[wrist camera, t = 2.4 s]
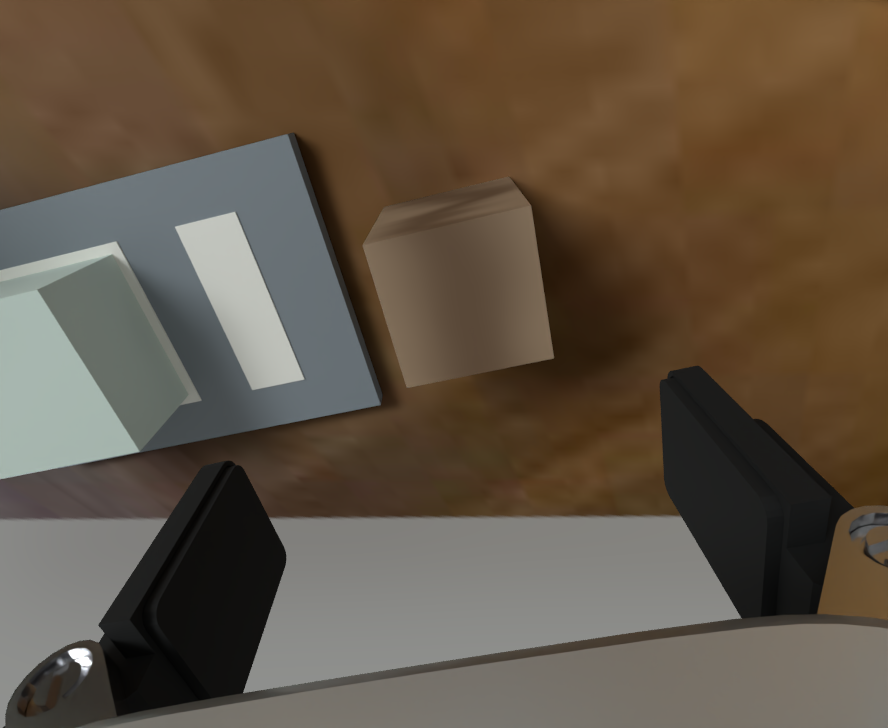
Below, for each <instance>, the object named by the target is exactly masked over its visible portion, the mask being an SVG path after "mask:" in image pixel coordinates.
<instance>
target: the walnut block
mask: <svg viewBox="0 0 888 728" xmlns="http://www.w3.org/2000/svg"><path fill="white" fill-rule="evenodd" d="M363 248H364V252H365V255H366V258H367V261H368V264H369V268H370V271H371V274H372V277H373V281H374V284H375V287H376V290H377V293H378V297H379V300H380V303H381V306H382V310H383V313H384V316H385V319H386V322H387V326H388V329H389V332H390V335H391V338H392V342H393V345H394V348H395V351H396V355H397V358H398V361H399V364H400V367H401V371H402V374H403V377H404V380H405V383H406V387H407V388H409V387H414V386H419V385H424V384H429V383H434V382H439V381H444V380H449V379H454V378H459V377H464V376H469V375H474V374H479V373H484V372H489V371H494V370H499V369H504V368H509V367H514V366H519V365H524V364H529V363H534V362H539V361H544V360H549V359H554V354H553V348H552V341H551V334H550V328H549V321H548V314H547V308H546V301H545V295H544V288H543V281H542V275H541V268H540V261H539V255H538V248H537V241H536V235H535V228H534V221H533V215H532V208H531V205H530V203H529V202H528V201H527V199H526V198H525V197H524V195H523V194H522V193H521V192H520V190H519V189H518V188H517V186H516V185H515V184H514V182H513V181H512V180H511V178H510V177H505V178H501V179H497V180H493V181H489V182H485V183H481V184H476V185H472V186H468V187H464V188H460V189H456V190H452V191H448V192H444V193H439V194H435V195H431V196H427V197H423V198H419V199H415V200H411V201H407V202H402V203H398V204H394V205H390V206H386V207H384V208H383V210H382V212H381V213H380V215H379V217H378V219H377V220H376V222H375V224H374V226H373V228H372V229H371V231H370V233H369V235H368V236H367V238H366V240H365V242H364V244H363Z"/></svg>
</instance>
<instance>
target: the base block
mask: <svg viewBox="0 0 888 728" xmlns="http://www.w3.org/2000/svg"><path fill="white" fill-rule="evenodd" d="M188 395H189V394H188V393H187V391H186V389H185V387H184V385H183V383H182V382H181V380H180V378H179V376H178V374H177V372H176V371H175V369H174V367H173V365H172V363H171V361H170V359H169V358H168V356H167V354H166V352H165V350H164V348H163V347H162V345H161V343H160V341H159V339H158V337H157V336H156V334H155V332H154V330H153V328H152V326H151V325H150V323H149V321H148V319H147V317H146V315H145V314H144V312H143V310H142V308H141V306H140V304H139V303H138V301H137V299H136V297H135V295H134V293H133V291H132V290H131V288H130V286H129V284H128V282H127V280H126V279H125V277H124V275H123V273H122V271H121V269H120V268H119V266H118V264H117V262H116V260H115V258H114V257H113V255H112V254H111V255H107V256H103V257H99V258H95V259H90V260H86V261H82V262H78V263H74V264H70V265H66V266H62V267H58V268H54V269H50V270H46V271H42V272H38V273H34V274H30V275H26V276H22V277H17V278H13V279H9V280H5V281H1V282H0V479H4V478H9V477H14V476H19V475H24V474H29V473H34V472H39V471H44V470H49V469H55V468H60V467H65V466H70V465H75V464H80V463H85V462H90V461H95V460H100V459H105V458H110V457H115V456H120V455H126V454H131V453H136V452H140V451H141V450H142V449H143V447H144V446H145V445H146V444H147V443H148V442H149V440H150V439H151V438H152V437H153V436H154V435H155V434H156V432H157V431H158V430H159V429H160V428H161V427H162V425H163V424H164V423H165V422H166V421H167V420H168V418H169V417H170V416H171V415H172V414H173V413H174V412H175V410H176V409H177V408H178V407H179V406H180V405H181V403H182V402H183V401H184V400H185V399H186V398H187V396H188Z"/></svg>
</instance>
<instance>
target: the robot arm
mask: <svg viewBox="0 0 888 728" xmlns="http://www.w3.org/2000/svg"><path fill="white" fill-rule="evenodd" d="M660 401H661V422H662V443H663V464H664V481H665V485H666V489H667V491H668V494H669V496H670V498H671V499H672V501H673V503H674V505H675V506H676V508H677V510H678V511H679V513H680V515H681V516H682V518H683V520H684V521H685V523H686V525H687V527H688V528H689V530H690V531H691V533H692V535H693V536H694V538H695V540H696V542H697V543H698V545H699V547H700V548H701V550H702V552H703V553H704V555H705V557H706V558H707V560H708V562H709V564H710V565H711V567H712V569H713V570H714V572H715V574H716V576H717V577H718V579H719V581H720V582H721V584H722V586H723V587H724V589H725V591H726V592H727V594H728V596H729V597H730V599H731V601H732V603H733V604H734V606H735V608H736V609H737V611H738V613H739V614H740V616H741V618H742V619H732V620H725V621H718V622H710V623H703V624H695V625H687V626H679V627H672V628H664V629H657V630H649V631H642V632H635V633H628V634H621V635H615V636H608V637H602V638H595V639H588V640H581V641H575V642H568V643H562V644H555V645H548V646H542V647H535V648H529V649H522V650H515V651H508V652H501V653H495V654H489V655H482V656H476V657H469V658H463V659H456V660H450V661H443V662H437V663H430V664H424V665H418V666H411V667H405V668H398V669H392V670H386V671H379V672H373V673H367V674H360V675H354V676H348V677H341V678H335V679H329V680H322V681H316V682H310V683H304V684H298V685H292V686H286V687H279V688H273V689H267V690H261V691H255V692H249V693H243V691H244V688H245V685H246V682H247V679H248V676H249V673H250V670H251V667H252V664H253V661H254V658H255V655H256V652H257V649H258V646H259V643H260V640H261V637H262V634H263V631H264V628H265V625H266V622H267V619H268V616H269V613H270V610H271V607H272V604H273V601H274V598H275V595H276V592H277V589H278V586H279V583H280V580H281V577H282V574H283V571H284V568H285V565H286V552H285V549H284V546H283V544H282V542H281V541H280V539H279V537H278V535H277V533H276V531H275V529H274V527H273V525H272V523H271V521H270V519H269V517H268V515H267V513H266V511H265V510H264V508H263V506H262V504H261V502H260V500H259V498H258V496H257V494H256V492H255V490H254V488H253V486H252V484H251V482H250V480H249V479H248V477H247V475H246V473H245V471H244V469H243V468H242V467H241V466H239V465H235V464H234V463H233V462H232V461H224V462H219V463H214V464H209V465H205V466H203V467H202V468H201V469H200V471H199V472H198V474H197V475H196V477H195V478H194V480H193V481H192V483H191V484H190V486H189V488H188V489H187V491H186V492H185V494H184V495H183V497H182V498H181V500H180V501H179V503H178V504H177V506H176V507H175V509H174V510H173V512H172V513H171V515H170V517H169V518H168V520H167V521H166V523H165V524H164V526H163V527H162V529H161V530H160V532H159V533H158V535H157V536H156V538H155V539H154V541H153V542H152V544H151V546H150V547H149V549H148V550H147V552H146V553H145V555H144V556H143V558H142V560H141V561H140V562H139V564H138V565H137V567H136V569H135V570H134V571H133V573H132V574H131V576H130V578H129V579H128V581H127V582H126V584H125V585H124V587H123V588H122V590H121V591H120V593H119V594H118V596H117V597H116V599H115V600H114V602H113V603H112V605H111V606H110V608H109V610H108V611H107V613H106V614H105V616H104V617H103V619H102V620H101V622H100V623H99V627H100V628H101V629H102V630H103V632H104V633H105V634H104V635H103V637H102V638H101V640H100V642H99V643H98V642H95V641H93V640H83V641H78V642H75V643H72V644H69V645H67V646H65V647H63V648H61V649H60V650H58V651H56V652H54V653H53V654H51V655H50V656H49V657H47V658H46V659H45V660H43V661H42V662H41V663H39V664H38V665H37V666H36V667H35V668H34V669H33V670H32V671H31V672H30V673H29V674H28V675H27V676H26V677H25V678H24V679H23V681H22V682H21V683H20V684H19V686H18V687H17V688H16V690H15V691H14V693H13V695H12V697H11V699H10V700H9V702H8V705H7V710H6V714H5V715H6V716H5V726H4V727H3V728H888V506H863V507H859V508H854V507H852V506H851V505H850V504H849V503H848V502H847V501H846V500H845V499H844V498H843V497H842V496H841V495H840V494H839V493H838V492H837V491H836V490H835V489H834V488H833V487H832V486H831V485H830V484H829V483H828V482H827V481H826V480H825V479H824V478H823V477H822V476H820V475H819V474H818V473H817V472H816V471H815V470H814V469H813V468H812V467H811V466H810V465H809V464H808V463H807V462H806V461H805V460H804V459H803V458H802V457H801V456H800V455H799V454H798V453H797V452H796V451H795V450H794V449H793V448H792V447H791V446H790V445H788V444H787V443H786V442H785V441H784V440H783V439H782V438H781V437H780V436H779V435H778V434H777V433H776V432H775V431H774V430H773V429H772V428H771V427H770V426H769V425H768V424H767V423H765V422H764V421H762V420H760V419H752V418H751V417H750V416H749V415H748V414H747V413H746V412H745V411H744V410H743V409H742V408H741V407H740V406H739V405H738V404H737V403H736V402H735V401H734V400H733V399H732V398H731V397H730V396H729V395H728V394H727V393H726V392H725V391H724V390H723V389H722V388H721V387H720V386H719V385H718V384H717V383H716V382H715V381H714V380H713V379H712V378H711V377H710V376H709V375H708V374H707V373H706V372H705V371H704V370H703V369H702V368H701V367H699V366H693V367H689V368H684V369H679V370H674V371H670V372H669V373H668V379H664V380H661V382H660Z"/></svg>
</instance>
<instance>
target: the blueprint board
mask: <svg viewBox="0 0 888 728" xmlns="http://www.w3.org/2000/svg"><path fill="white" fill-rule="evenodd" d="M111 254H112V255H113V257H114V258H115V260H116V262H117V264H118V266H119V268H120V269H121V271H122V273H123V275H124V277H125V279H126V280H127V282H128V284H129V286H130V288H131V290H132V291H133V293H134V295H135V297H136V299H137V301H138V303H139V304H140V306H141V308H142V310H143V312H144V314H145V315H146V317H147V319H148V321H149V323H150V325H151V326H152V328H153V330H154V332H155V334H156V336H157V337H158V339H159V341H160V343H161V345H162V347H163V348H164V350H165V352H166V354H167V356H168V358H169V359H170V361H171V363H172V365H173V367H174V369H175V371H176V372H177V374H178V376H179V378H180V380H181V382H182V383H183V385H184V387H185V389H186V391H187V393H188V394H189V395H188V396H187V398H186V399H185V400H184V401H183V402H182V403H181V405H180V406H179V407H178V408H177V409H176V410H175V412H174V413H173V414H172V415H171V416H170V417H169V418H168V420H167V421H166V422H165V423H164V424H163V425H162V427H161V428H160V429H159V430H158V431H157V432H156V434H155V435H154V436H153V437H152V438H151V439H150V440H149V442H148V443H147V444H146V445H145V446H144V447H143V449H142V450H141V451H140V452H145V451H150V450H155V449H160V448H165V447H170V446H175V445H180V444H185V443H190V442H195V441H201V440H206V439H211V438H216V437H221V436H226V435H231V434H236V433H241V432H246V431H251V430H256V429H261V428H267V427H272V426H277V425H282V424H287V423H292V422H297V421H302V420H307V419H312V418H317V417H322V416H327V415H332V414H338V413H343V412H348V411H353V410H358V409H363V408H368V407H373V406H378V405H381V401H382V396H383V395H382V392H381V389H380V386H379V383H378V380H377V377H376V374H375V371H374V368H373V365H372V362H371V359H370V357H369V354H368V351H367V348H366V345H365V342H364V339H363V336H362V333H361V330H360V327H359V324H358V321H357V318H356V315H355V312H354V309H353V306H352V303H351V300H350V297H349V294H348V291H347V288H346V286H345V283H344V280H343V277H342V274H341V271H340V268H339V265H338V262H337V259H336V256H335V253H334V250H333V247H332V244H331V241H330V238H329V235H328V232H327V229H326V226H325V223H324V220H323V217H322V215H321V212H320V209H319V206H318V203H317V200H316V197H315V194H314V191H313V188H312V185H311V182H310V179H309V176H308V173H307V170H306V167H305V164H304V161H303V158H302V155H301V152H300V149H299V147H298V144H297V141H296V138H295V135H294V133H290V134H286V135H282V136H279V137H275V138H271V139H267V140H264V141H260V142H256V143H252V144H248V145H245V146H241V147H237V148H233V149H230V150H226V151H222V152H218V153H214V154H211V155H207V156H203V157H199V158H196V159H192V160H188V161H184V162H180V163H177V164H173V165H169V166H165V167H162V168H158V169H154V170H150V171H146V172H143V173H139V174H135V175H131V176H127V177H124V178H120V179H116V180H112V181H109V182H105V183H101V184H97V185H93V186H90V187H86V188H82V189H78V190H75V191H71V192H67V193H63V194H59V195H56V196H52V197H48V198H44V199H41V200H37V201H33V202H29V203H25V204H22V205H18V206H14V207H10V208H7V209H3V210H0V282H1V281H5V280H9V279H13V278H17V277H22V276H26V275H30V274H34V273H38V272H42V271H46V270H50V269H54V268H58V267H62V266H66V265H70V264H74V263H78V262H82V261H86V260H90V259H95V258H99V257H103V256H107V255H111ZM140 452H136V453H140ZM131 454H135V453H131ZM126 455H129V454H126ZM120 456H124V455H120ZM115 457H119V456H115ZM110 458H114V457H110ZM105 459H109V458H105ZM100 460H104V459H100ZM95 461H99V460H95ZM90 462H94V461H90ZM85 463H89V462H85ZM80 464H84V463H80ZM75 465H79V464H75ZM70 466H74V465H70ZM65 467H69V466H65ZM60 468H63V467H60Z"/></svg>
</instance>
